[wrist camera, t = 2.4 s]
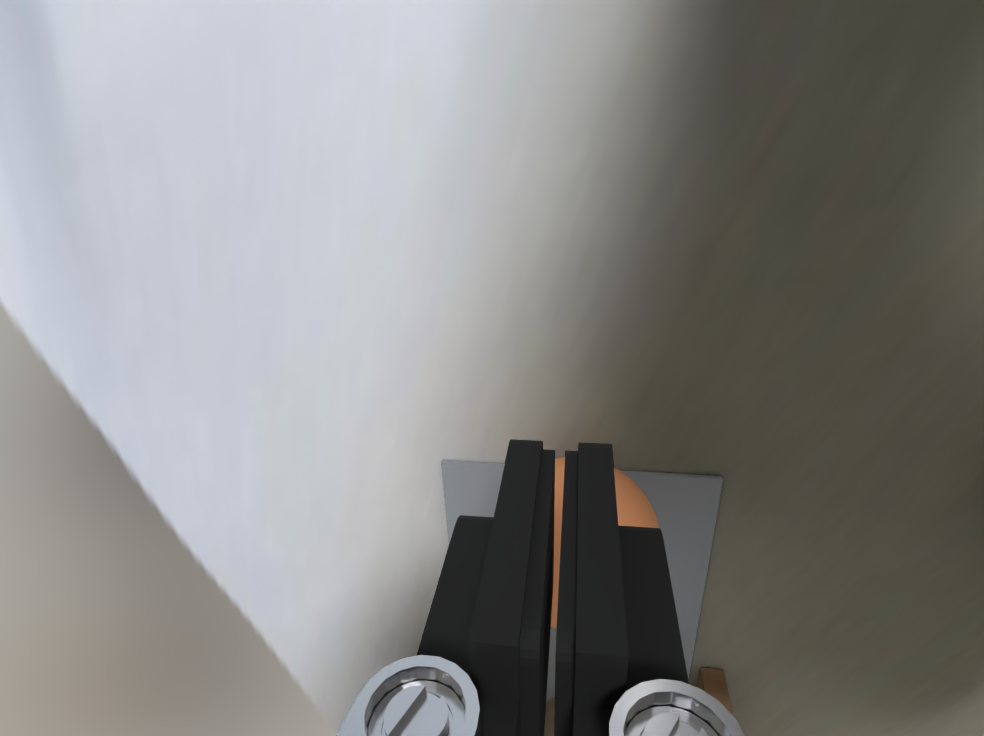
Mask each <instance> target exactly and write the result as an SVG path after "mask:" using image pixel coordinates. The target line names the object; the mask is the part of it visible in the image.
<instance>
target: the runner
mask: <svg viewBox="0 0 984 736" xmlns="http://www.w3.org/2000/svg"><path fill="white" fill-rule="evenodd" d="M504 465H505V464H504V463H487V462H470V461H453V460H442V462H441V466H442V476H443V487H444V497H445V507H446V518H447V528H448V539H449V544H450V540H451V537H452V534H453V530H454V527H455V524H456V521H457V518H458V517H459V516H460V515H465V516H481V517H494V513H495V508H496V504H497V499H498V494H499V489H500V484H501V480H502V475H503V470H504ZM620 471H622V472H623V473H624V474H625V475H627V476H628V477H629V478H630V479H632V480H633V481H634V482H635V483H636V484H637V485H638V487H639V488H640V489H641V490H642V492H643V493H644V495H645V496H646V497H647V499H648V500H649V502H650V504H651V506H652V508H653V510H654V512H655V515H656V518H657V521H658V525H659V528H660V529H661V531H662V535H663V539H664V545H665V550H666V556H667V562H668V567H669V573H670V579H671V584H672V590H673V596H674V601H675V607H676V613H677V618H678V624H679V630H680V635H681V641H682V647H683V652H684V658H685V664H686V669H687V675H688V680H689V674H690V669H691V663H692V657H693V651H694V646H695V640H696V634H697V628H698V623H699V617H700V611H701V605H702V599H703V594H704V588H705V582H706V576H707V571H708V565H709V559H710V553H711V548H712V542H713V536H714V530H715V525H716V519H717V513H718V507H719V502H720V496H721V490H722V484H723V477H722V476H711V475H694V474H676V473H659V472H642V471H625V470H620ZM556 629H557V628H554V627H551V631H550V648H549V664H548V680H547V697H546V703H547V701H548V700H549V699H550V698H552V697H554V696H555V657H556Z"/></svg>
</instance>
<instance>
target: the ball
mask: <svg viewBox="0 0 984 736" xmlns="http://www.w3.org/2000/svg"><path fill="white" fill-rule="evenodd" d="M564 469H565V457H560V458H555V504H554V576H553V598H552V615H551V627H554V628H557V609H558V589H559V569H560V549H561V529H562V509H563V489H564ZM614 477H615V489H616V502H617V515H618V526H634V527H649V528H659V525H658V521H657V518H656V515H655V512H654V510H653V508H652V506H651V504H650V502H649V500H648V499H647V497H646V496H645V495H644V493H643V492H642V490H641V489H640V488H639V487H638V485H637V484H636V483H635V482H634V481H633V480H632V479H630V478H629V477H628V476H627V475H625V474H624V473H623V472H622V471H620V470H618V469H617V468H615V467H614Z"/></svg>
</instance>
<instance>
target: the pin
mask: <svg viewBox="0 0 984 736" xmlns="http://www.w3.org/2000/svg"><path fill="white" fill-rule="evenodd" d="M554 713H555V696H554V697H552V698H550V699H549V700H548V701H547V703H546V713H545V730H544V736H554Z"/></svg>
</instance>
